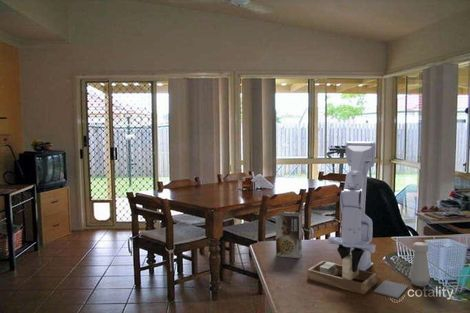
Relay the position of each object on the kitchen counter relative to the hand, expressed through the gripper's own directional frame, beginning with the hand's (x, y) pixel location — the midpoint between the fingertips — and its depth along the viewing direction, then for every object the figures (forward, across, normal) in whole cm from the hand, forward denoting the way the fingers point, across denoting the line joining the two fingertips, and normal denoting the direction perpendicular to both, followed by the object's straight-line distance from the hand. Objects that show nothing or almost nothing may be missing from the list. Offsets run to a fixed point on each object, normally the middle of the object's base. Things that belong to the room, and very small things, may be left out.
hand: (350, 269), depth 123 cm
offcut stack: (+4, -8, +1) cm, 9 cm away
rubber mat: (+4, +12, +3) cm, 13 cm away
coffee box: (+5, -29, +10) cm, 31 cm away
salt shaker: (+4, +17, +12) cm, 22 cm away
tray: (+4, -3, 0) cm, 5 cm away
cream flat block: (+2, 0, 0) cm, 2 cm away
